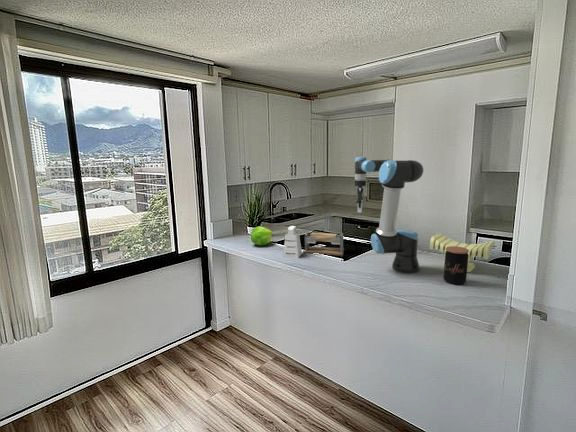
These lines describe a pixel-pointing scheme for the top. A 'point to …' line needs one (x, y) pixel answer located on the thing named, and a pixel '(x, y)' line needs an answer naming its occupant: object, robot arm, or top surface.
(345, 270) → the top surface
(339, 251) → the bracket stand
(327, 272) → the top surface
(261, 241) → the lettuce
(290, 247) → the grater
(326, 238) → the rail
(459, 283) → the coffee jar
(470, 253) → the slatted curved stool
